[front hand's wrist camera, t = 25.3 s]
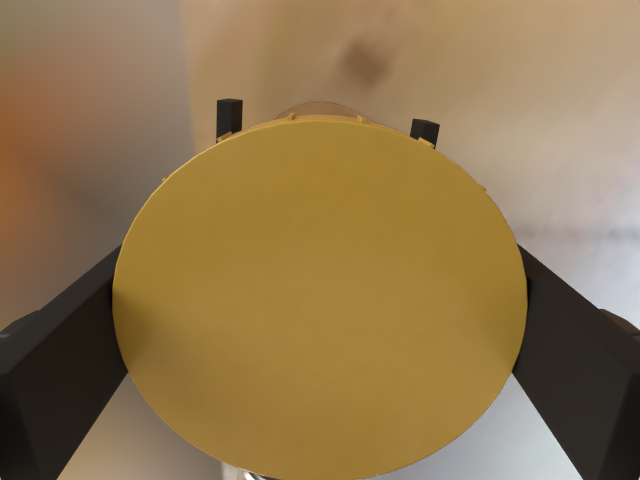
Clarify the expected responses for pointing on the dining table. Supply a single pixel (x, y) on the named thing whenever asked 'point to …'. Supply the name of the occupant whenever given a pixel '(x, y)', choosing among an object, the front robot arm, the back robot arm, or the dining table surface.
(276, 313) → the lid
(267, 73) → the dining table surface
